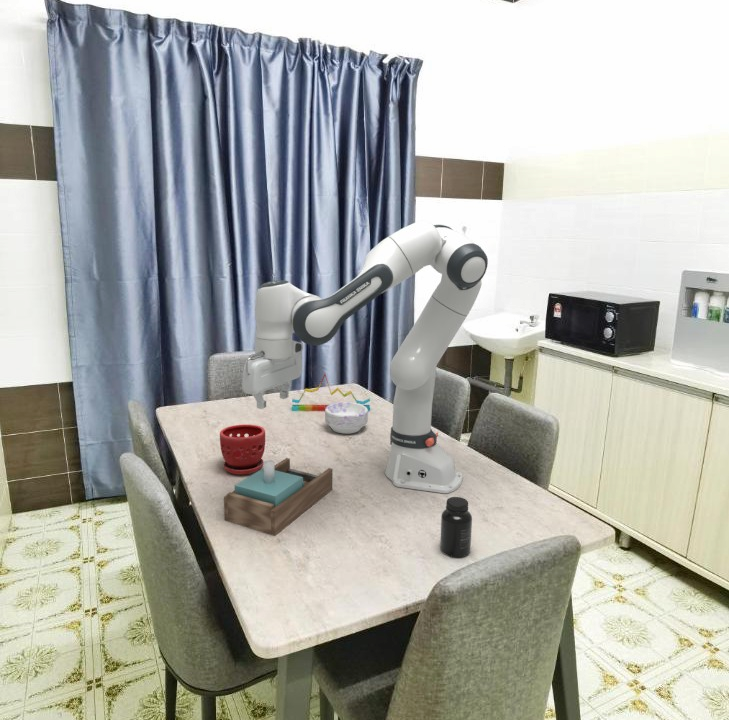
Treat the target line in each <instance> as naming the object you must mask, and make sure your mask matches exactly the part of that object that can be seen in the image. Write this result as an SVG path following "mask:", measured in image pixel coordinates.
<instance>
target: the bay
mask: <svg viewBox="0 0 729 720" xmlns="http://www.w3.org/2000/svg"><path fill="white" fill-rule="evenodd" d="M274 469H275V470H276V471H280V472H284V473H288V474H292V475H296V476H300V477H303V482H304V487H302V488H301V489H300V490H298V491H297V492H296V493H294V494H293V495H291V496H290V497H289V498H287V499H286V500H285V501H283V502H282V503H281V504H279V505H278V506H276V507H275V508H274V504H270V503H267V502H263V501H260V500H256V499H253V498H249V497H245V496H242V495H238V494H235V489H234V490H233V491H230V492H228V493H227V494H226V495H225V496H223V510H224V511H223V513H224V515H223V516H224V518H223V519H224V521H226V522H229V523H233V524H236V525H240V526H242V527H245V528H249V529H252V530H255V531H258V532H262V533H264V534H268V535H271V536H275V537H276V536H277V535H278V534H279V533H281V532H282V531H283V530H284V529H286V528H287V527H288V526H290V524H291V523H293V522H294V521H295V520H298V518H299V517H300V516H302V515H303V514H304V513H305V512H307V511H308V510H309V509H311V507H313V506H314V505H315V504H317V503H318V502H319V501H320V500H322V499H323V498H324V497H325V496H326V495H328V494H329V493H330V492H332V490H333V468H331V467H328V468H327V469H325V470H324V471H323V472H321V473H320V474H318V475H317V474H314V473H309V472H306V471H305V472H304V471H301V470H297V469H293V468H291V458H287V457H286V458H284V459H282V460H281V461H280V462H278V463H277V464H274Z"/></svg>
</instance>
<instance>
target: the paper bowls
mask: <svg viewBox="0 0 729 720" xmlns="http://www.w3.org/2000/svg"><path fill="white" fill-rule="evenodd" d="M327 405H328V406H327V407H326V409H325V411H324V422H325V424H326V425H327V426H330V428H331V430H332V431H334V432H335V433H338V434H343V435H345V434H346V435H347V434H349V435H350V434H355V433H357V432H359V431H360V430H361V429H362V427H364V426H365V425H368V423H369V421H368V419H369V411H368V409H367V408H366V407H365V406H364V405H365V404H359V403H357V402H351V401H350V402H349V401H348V402H347V401H344V402H343V401H342V402H341V401H340V402H335V403H331V404H327Z"/></svg>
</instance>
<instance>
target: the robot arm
mask: <svg viewBox="0 0 729 720" xmlns="http://www.w3.org/2000/svg"><path fill="white" fill-rule="evenodd" d="M365 255H366V256H365V258H364V263H363V264H364V265H363V267H362V269H361V271H359V272H360V273H358V275H357V276H356V277H354V278H353V279H352V280H351V281H349V282H348V283H346V284H345V285H343V286H342V287H341V288H340V289H338V290H337V291H335V292H334V293H332V294H331V295H330V296H328V297H324V298H321V296H318V295H315V294H312V293H308V292H306V291H304V290H302V289H300V288H298V287H296V286H295V285H293V284H292V283H291V282H290V281H289V280H286V279H284V280H283V279H282V280H281V279H280V280H279V279H278V280H271V281H267V282H264V283H262V284H261V285H260V286H259V287H258V289H257V291H256V295H255V301H254V304H255V305H254V320H255V324H256V329H255V333H254V353H252V354H250V355H249V356H248V358H247V359H246V361H245V363H244V366H243V370H242V378H241V379H242V380H241V382H242V383H241V390H242V392H243V393H244V394H248V395H251V396H252V395H253V398H254V399H255V401H256V408H257V409H258V410H263V409H266V408H267V400H265V399H264V395H265V392H267V391H268V390H271V389H274V388H276V387H279V386H281V385H282V388H281V390H280V391H279V398H280V399H283V400H285V399H288V398H289V396H290V395H289V394H290V393H289V392H290V389H291V387H292V383H293V381H294V380H296V379H299V378H300V377H301V375H302V372H303V353H302V352H303V351H304V344H306V345H310V346H321V345H324V344H326V343H328V342H330V341H331V340H332V339H333V337H335V335H336V334H337V333H338V331H339V330H340V328H341V326H342V325H343V323H345V321H347V319H349V318H351V316H353V315H354V314H355V313H357V312H358V311H360V310H361V309H363V307H365V306H366V305H368V304H369V303H371V302H372V301H373V300H374V299H376V298H377V297H379V296H381V294H383V293H385V292H386V291H388V290H390V289H393V287H396V286H397V285H399V284H401V283H403V282H404V281H406V280H407V279H409V278H411V277H412V276H413V275H415V274H416V273H418V272H419V271H421V270H422V269H423V268H425V267H427V266H431V268H433V269H434V270H435V272H437V273H440V274H441V278H440V282H439V283H438V285H437V286H436V288H435V290H434V291H433V293H432V294H431V296H430V298H429V300H428V302H427V303H426V305H425V306H424V308H423V310H422V311H421V313H420V315H419V316H418V318H417V319H416V321H415V322H414V324H413V326H412V327H411V329H410V330H409V332H408V334H407V335H406V337H405V339H404V340H403V341H402V343H401V345H400V346H399V348H398V349H397V351H396V353H395V354H394V356H393V358H392V359H391V361H390V362H391V363H390V367H389V375H390V376H389V377H390V379H391V381H392V382H393V384H394V385H395V386H396V387H395V392H394V397H393V402H392V403H393V405H392V425H391V427H390V435H389V437H390V439H389V441H390V443H389V445H390V452H389V458H388V461H387V466H386V469H385V472H384V474H385V476H386V477H387V478H388V479H389V480H390V481H391V482H392V484H393V486H395V487H397V488H405V489H411V490H418V491H426V492H432V493H439V494H449V493H452V492H454V491H456V490H458V488H459V487H460V486H461V485H462V483H463V481H464V478H463V474H462V472H461V471H458V470H456V463H455V459H454V458H453V456H452V455H451V454H449V452H448V451H446V450H445V449H444V448H443V447H442V446H441V445H439V444H438V442H437V439H438V437H439V432H438V431H437V432H436V433H435V432H434V431H433V429H432V428H431V427H432V413H433V412H432V411H433V398H434V393H435V384H436V377H437V375H436V373H437V365H438V364H439V362H440V361H441V359H442V357H443V355H444V354H445V352H446V351H447V350H448V348H449V346H450V345H451V343H452V341H453V340H454V338H455V337H456V335H457V334H458V332H459V330H460V329H461V327H462V325H463V324H464V322H465V320H466V319H467V317H468V315H469V313H470V311H471V310H472V308H473V306H474V304H475V302H476V300H477V298H478V296H479V294H480V291H481V287H482V280H483V278H484V276H485V274H486V273H487V270H488V263H489V260H488V256H487V254H486V252H485V251H484V250H483V249H482V247H481V246H479V244H476V243H475V242H474V241H473V240H472V239H470V238H469V237H468V236H466V235H465V234H462V233H460V232H458V231H456V230H454V229H452V228H451V227H450V226H447V225H444V224H432V222H429V221H426V220H419V221H415V222H413V223H411V224H410V225H406V226H404V227H402V228H400V229H398V230H397V231H395V232H393V233H392V234H390V235H389V236H386V237H385V238H384V239H382V240H381V241H380V242H379V243H377V244H376V245H375V246H374V247H373V248H372V249H371V250H369V251H368V253H367V254H365ZM293 334H294V335H296V337H297V338H298V339H299V341H297V340H293ZM302 342H303V343H304V344H303V343H302Z"/></svg>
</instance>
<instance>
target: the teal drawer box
mask: <svg viewBox="0 0 729 720" xmlns="http://www.w3.org/2000/svg"><path fill="white" fill-rule="evenodd" d="M263 462H264V463H263V467H261V468H260V469H259V470H258V471H256V472H253V473H252V474H251V475H250V476H248V477H246V478H245V479H243V480H242V481H241V480H240V481H239V482H238V483H236V484H235V485H234V490H235V494H238V495H242V496H245V497H249V498H253V499H256V500H260V501H263V502H267V503H270V504H274V508H275V507H276V506H278V505H279V504H281V503H282V502H283V501H285V500H286V499H287V498H289V497H290V496H291V495H293V494H294V493H296V492H297V491H298V490H300V489H301V488H302V487H304V482H303V477H300V476H296V475H292V474H288V473H284V472H280V471H276V470H275V469H274V466H275V461H274V460H270V459H269V460H265V461H263Z"/></svg>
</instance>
